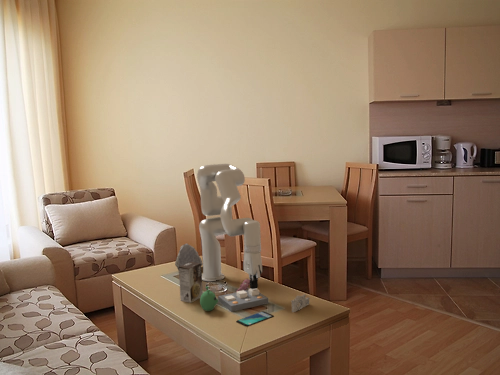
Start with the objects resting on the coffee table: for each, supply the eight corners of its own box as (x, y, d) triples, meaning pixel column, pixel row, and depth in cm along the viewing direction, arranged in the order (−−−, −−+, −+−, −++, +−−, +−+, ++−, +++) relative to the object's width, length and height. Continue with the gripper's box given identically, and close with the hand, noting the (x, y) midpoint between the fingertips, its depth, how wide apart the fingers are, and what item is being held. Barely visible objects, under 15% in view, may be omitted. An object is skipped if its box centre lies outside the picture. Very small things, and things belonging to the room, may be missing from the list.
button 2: (248, 294, 211) (248, 289, 211) (255, 293, 213) (255, 287, 212) (252, 297, 208) (252, 291, 208) (259, 295, 210) (259, 290, 209)
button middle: (236, 297, 208) (236, 291, 208) (243, 295, 210) (243, 290, 210) (240, 299, 205) (239, 293, 205) (247, 298, 207) (247, 292, 206)
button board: (218, 301, 209) (218, 295, 209) (253, 294, 217) (253, 288, 217) (231, 311, 197) (231, 305, 196) (268, 303, 205) (268, 297, 204)
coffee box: (192, 294, 219) (190, 261, 217) (203, 296, 216) (201, 262, 214) (179, 300, 212) (178, 266, 210) (191, 303, 208) (189, 268, 206)
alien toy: (219, 312, 196) (218, 289, 195) (201, 314, 195) (200, 291, 194) (217, 306, 203) (216, 284, 202) (199, 308, 202) (198, 286, 200)
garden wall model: (306, 303, 203) (306, 290, 203) (310, 304, 202) (310, 291, 202) (290, 312, 194) (290, 298, 194) (294, 313, 193) (294, 299, 193)
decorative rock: (177, 273, 253) (176, 246, 251) (173, 270, 259) (172, 244, 257) (205, 268, 260) (204, 242, 259) (200, 265, 266) (199, 240, 264)
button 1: (224, 302, 206) (224, 296, 205) (231, 301, 207) (231, 295, 207) (227, 305, 203) (227, 299, 202) (235, 303, 204) (235, 297, 204)
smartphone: (274, 315, 190) (246, 326, 181) (274, 317, 190) (246, 327, 181) (263, 310, 196) (235, 320, 186) (263, 312, 196) (235, 322, 186)
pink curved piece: (243, 298, 217) (249, 285, 215) (234, 293, 217) (241, 281, 216) (247, 291, 226) (253, 278, 225) (239, 286, 227) (245, 274, 225)
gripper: (237, 246, 213) (239, 285, 215) (252, 253, 199) (254, 294, 201) (252, 244, 216) (253, 282, 218) (268, 250, 203) (269, 291, 205)
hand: (254, 288), depth 210 cm, fingers closed
